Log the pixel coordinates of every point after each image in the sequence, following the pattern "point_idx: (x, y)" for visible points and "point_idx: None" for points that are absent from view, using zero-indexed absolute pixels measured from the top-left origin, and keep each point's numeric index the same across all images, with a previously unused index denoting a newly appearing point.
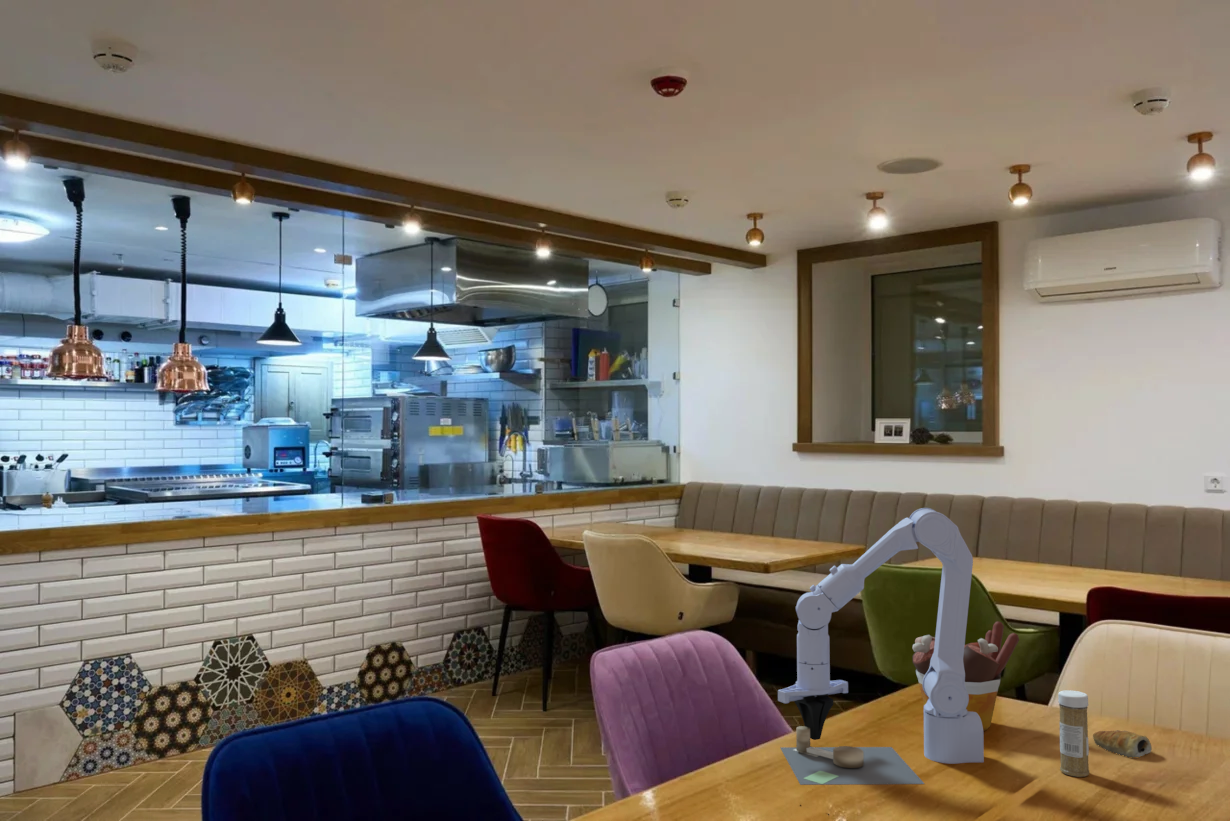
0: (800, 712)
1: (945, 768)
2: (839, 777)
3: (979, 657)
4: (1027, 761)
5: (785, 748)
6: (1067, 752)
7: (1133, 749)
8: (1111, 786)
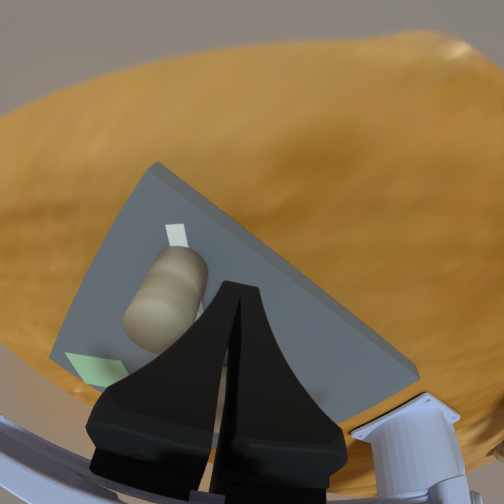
0: (164, 353)
1: None
2: None
3: None
4: (458, 439)
5: (156, 192)
6: None
7: (495, 456)
8: None
